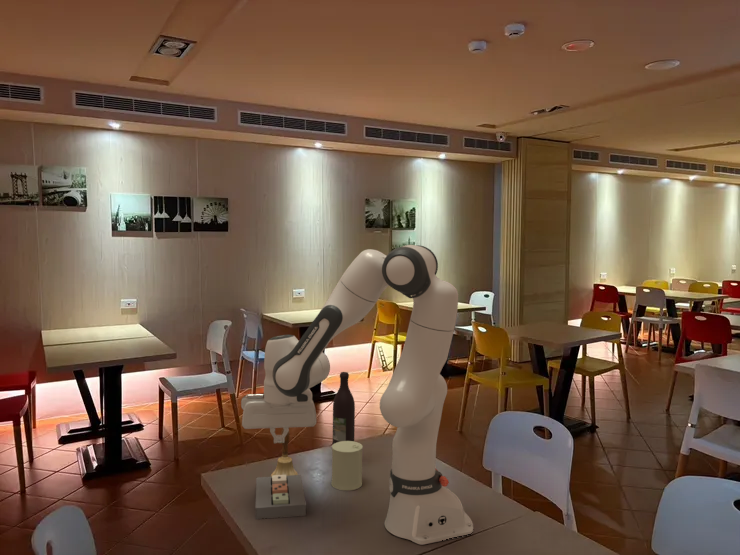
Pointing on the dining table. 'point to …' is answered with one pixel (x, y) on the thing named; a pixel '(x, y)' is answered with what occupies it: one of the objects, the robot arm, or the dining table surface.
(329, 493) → the dining table surface
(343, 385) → the wine bottle
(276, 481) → the button one
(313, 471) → the dining table surface
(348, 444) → the can
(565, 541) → the dining table surface
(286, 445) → the hand bell
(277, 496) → the button two
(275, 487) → the button three
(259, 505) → the button panel
